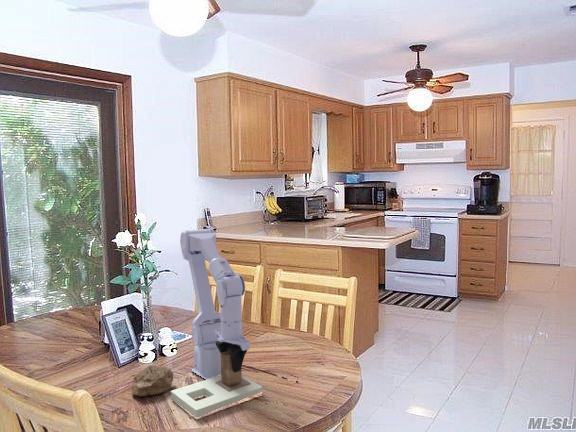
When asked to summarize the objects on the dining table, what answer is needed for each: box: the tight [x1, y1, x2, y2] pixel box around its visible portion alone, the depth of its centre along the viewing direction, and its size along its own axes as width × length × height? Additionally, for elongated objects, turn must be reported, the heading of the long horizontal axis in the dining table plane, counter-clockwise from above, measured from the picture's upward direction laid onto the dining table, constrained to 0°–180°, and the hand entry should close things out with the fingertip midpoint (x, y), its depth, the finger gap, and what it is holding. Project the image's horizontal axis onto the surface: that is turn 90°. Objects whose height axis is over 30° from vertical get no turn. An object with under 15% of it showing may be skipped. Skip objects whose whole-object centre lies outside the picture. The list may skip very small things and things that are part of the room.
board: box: [170, 375, 264, 417], centre depth 128 cm, size 14×20×3 cm
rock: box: [131, 364, 174, 397], centre depth 134 cm, size 13×11×5 cm
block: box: [220, 351, 243, 386], centre depth 131 cm, size 4×4×8 cm
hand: (232, 368), depth 131 cm, fingers closed on block, 4 cm apart
